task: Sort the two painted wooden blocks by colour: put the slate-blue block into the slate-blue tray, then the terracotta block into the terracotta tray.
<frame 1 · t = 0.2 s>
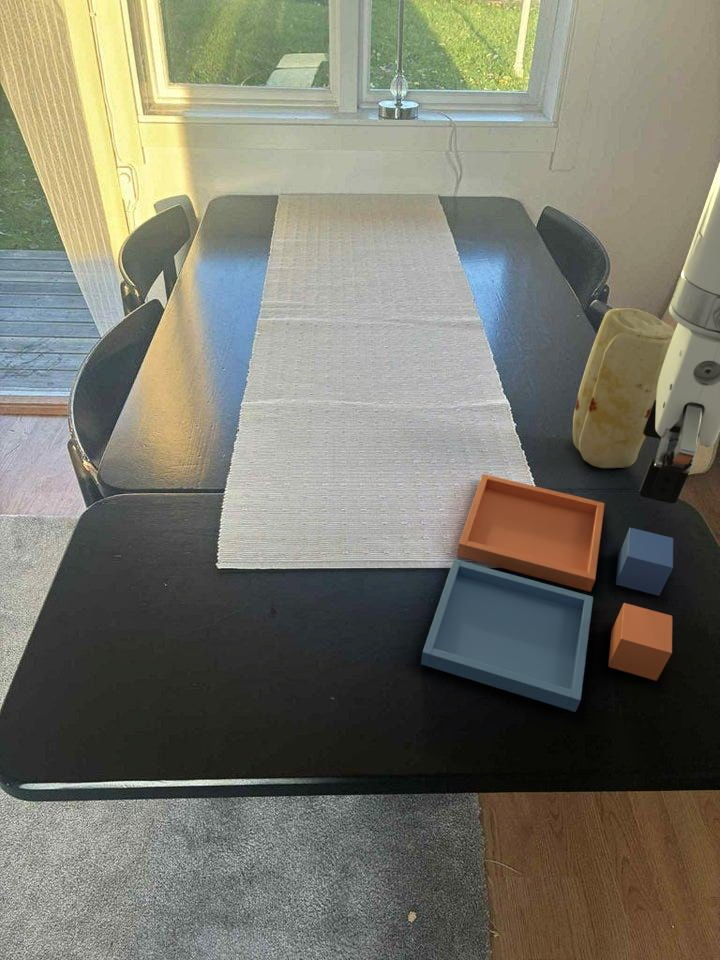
hand: (657, 466, 67), 15 cm above the table, tool pointing down, fingers open, 9 cm apart
blue block: (638, 575, 76), on the table
terracotta block: (633, 655, 68), on the table
food model: (597, 456, 92), on the table
terracotta tray: (531, 534, 80), on the table
blue tray: (508, 635, 70), on the table
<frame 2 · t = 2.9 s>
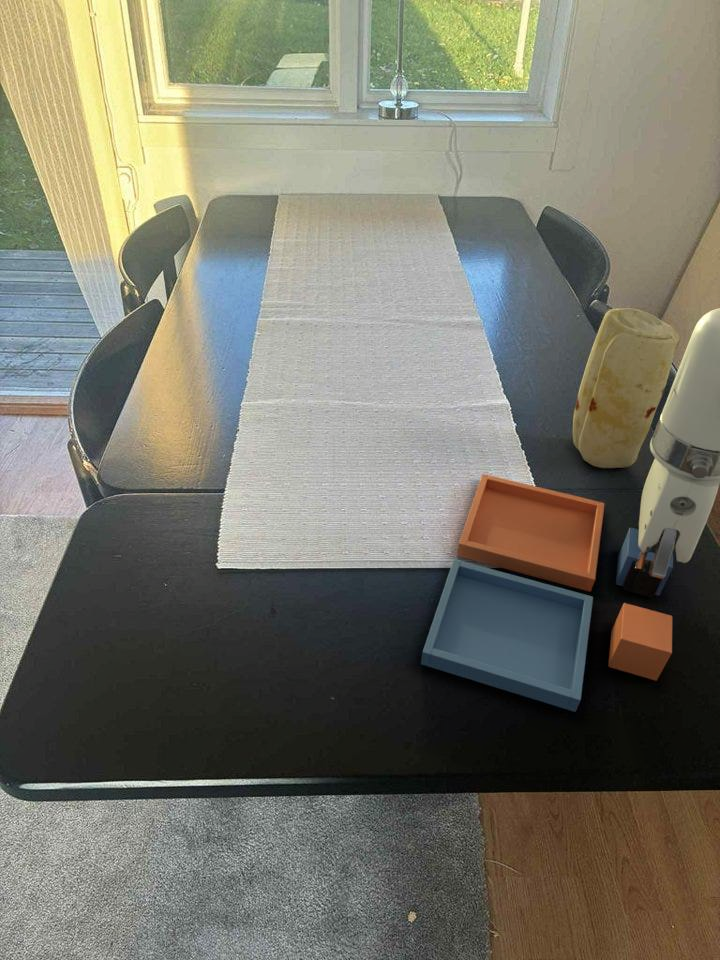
hand: (639, 573, 76), 0 cm above the table, tool pointing down, fingers closed on blue block, 4 cm apart
blue block: (638, 575, 76), on the table, touching gripper
everything else where it was.
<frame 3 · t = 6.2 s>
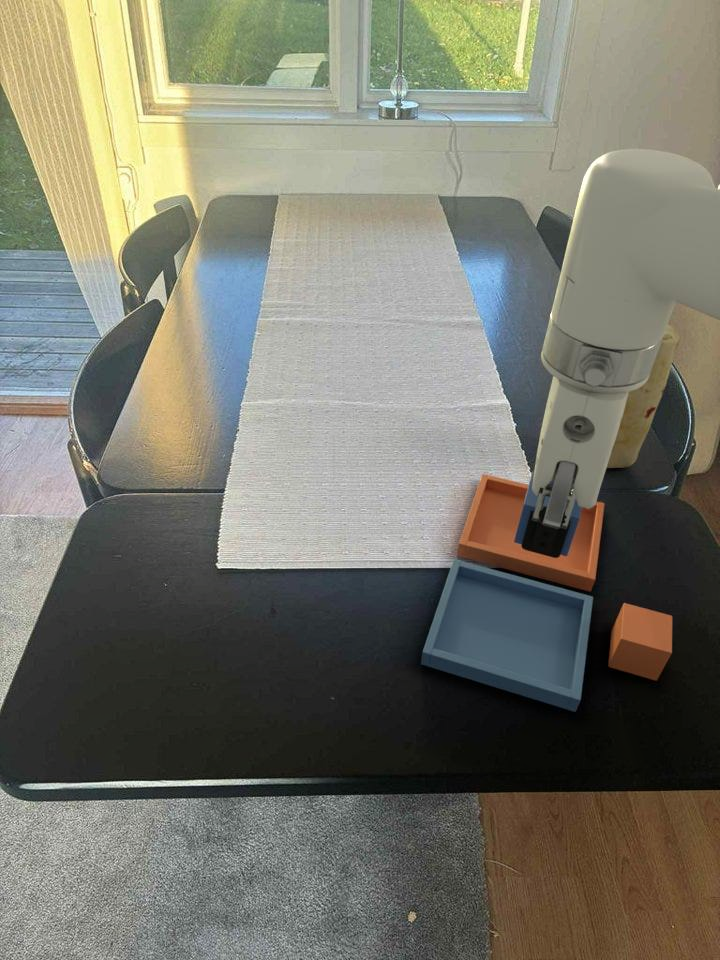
hand: (545, 529, 61), 14 cm above the table, tool pointing down, fingers closed on blue block, 4 cm apart
blue block: (543, 531, 61), point 14 cm above the table, touching gripper
everything else where it was.
when the fingers open (1 cm above the table, at t = 9.7 s): blue block stays where it is, resting on blue tray.
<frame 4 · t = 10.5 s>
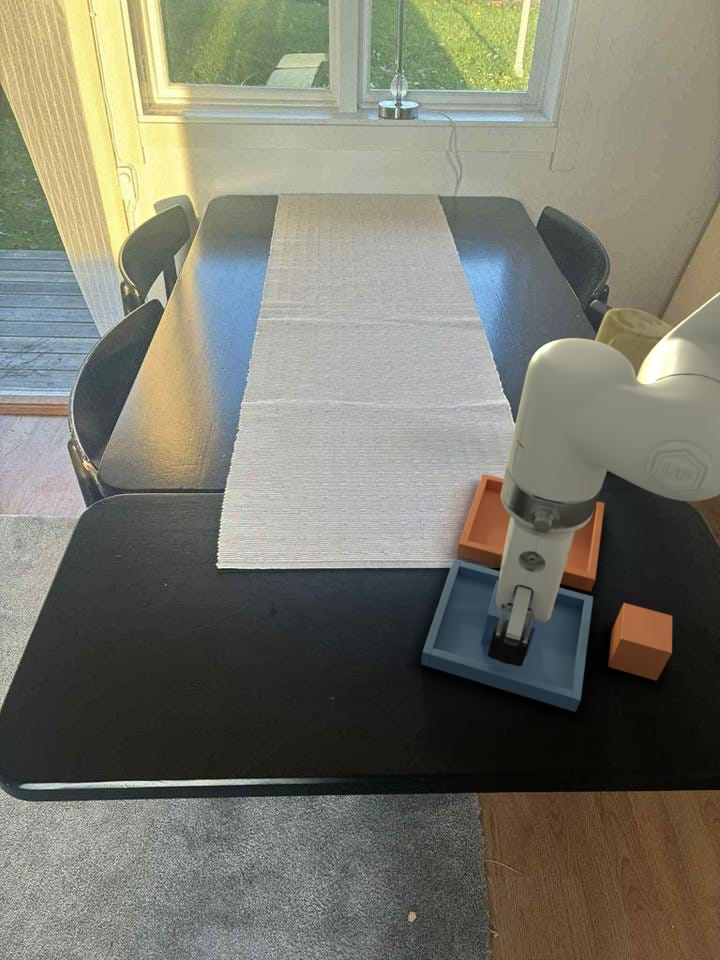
hand: (513, 619, 68), 3 cm above the table, tool pointing down, fingers open, 9 cm apart
blue block: (507, 632, 69), resting on blue tray
everything else where it was.
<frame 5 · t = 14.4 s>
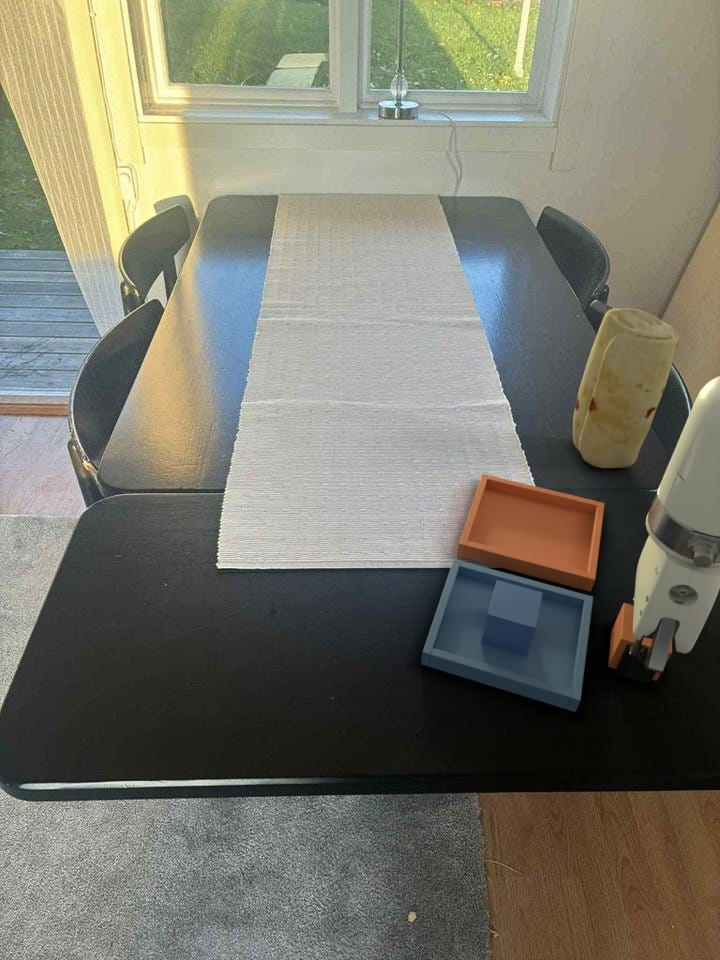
hand: (634, 653, 68), 0 cm above the table, tool pointing down, fingers closed on terracotta block, 4 cm apart
terracotta block: (633, 655, 68), on the table, touching gripper
everything else where it was.
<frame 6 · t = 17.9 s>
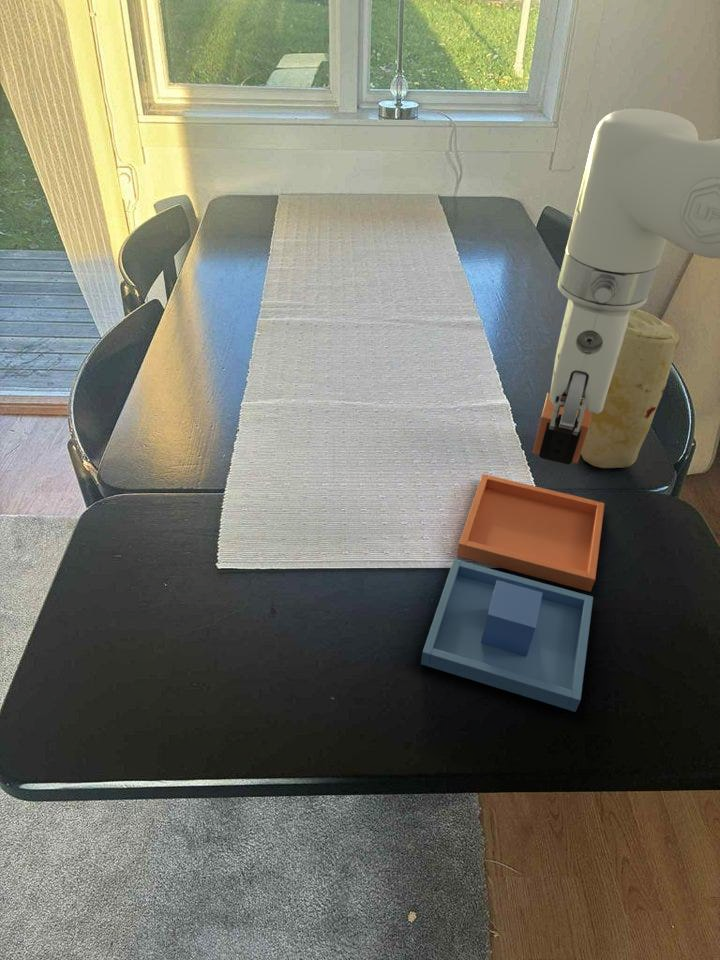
hand: (558, 442, 71), 14 cm above the table, tool pointing down, fingers closed on terracotta block, 4 cm apart
terracotta block: (557, 445, 71), point 13 cm above the table, touching gripper
everything else where it was.
when the fingers open (1 cm above the table, at t = 21.2 s): terracotta block stays where it is, resting on terracotta tray.
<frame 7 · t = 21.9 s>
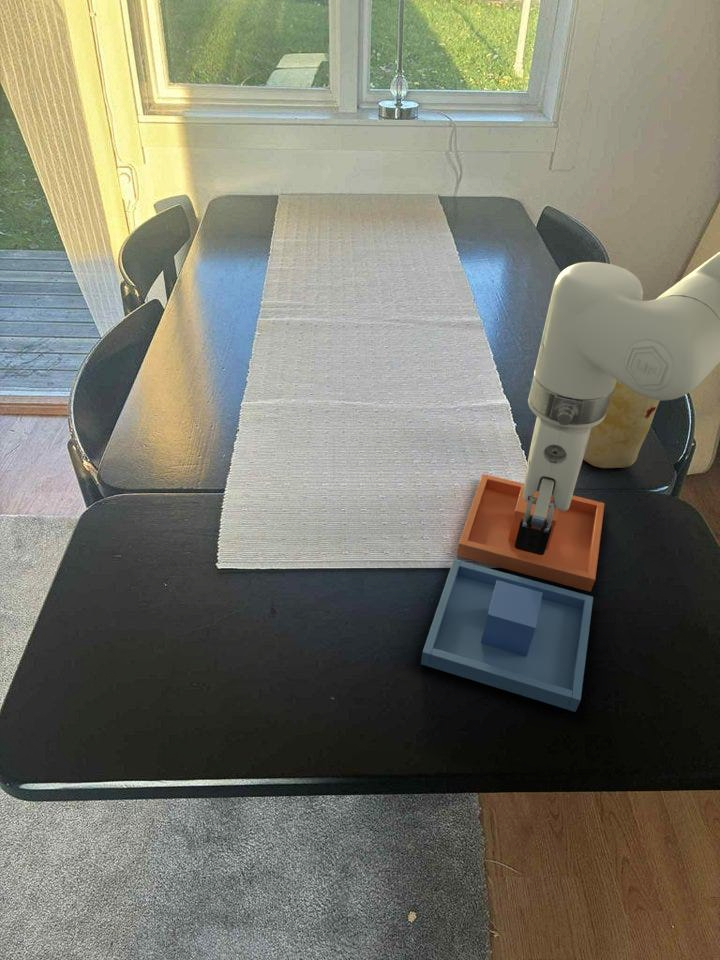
hand: (535, 520, 79), 2 cm above the table, tool pointing down, fingers open, 9 cm apart
terracotta block: (531, 531, 80), resting on terracotta tray
everything else where it was.
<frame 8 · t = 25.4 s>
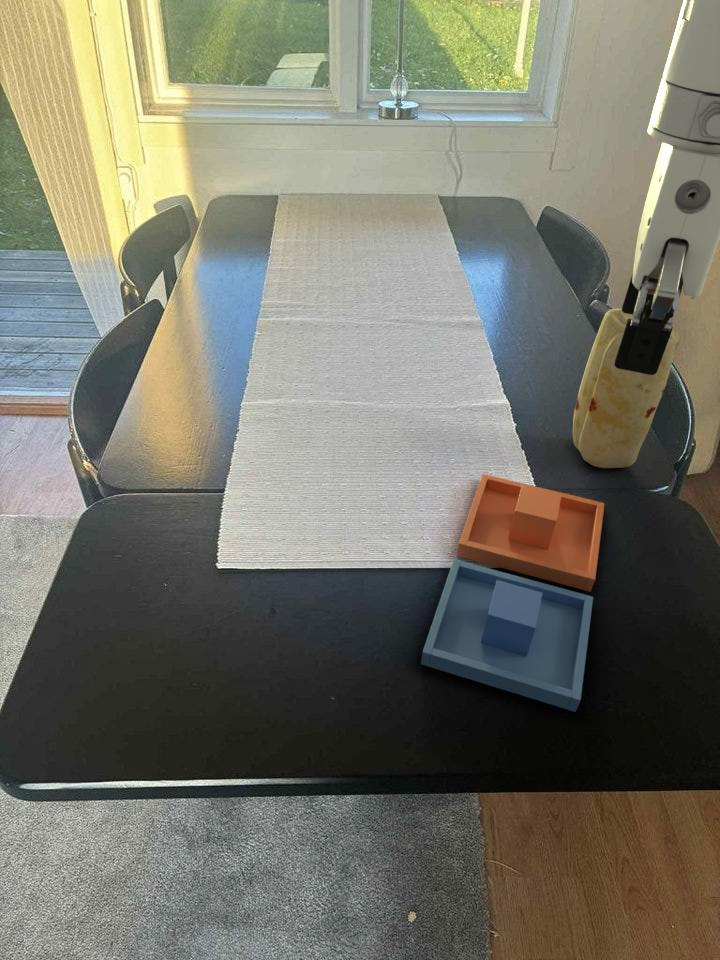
hand: (637, 340, 58), 28 cm above the table, tool pointing down, fingers open, 9 cm apart
nothing on the table moved.
at the end: blue block inside the target area on the blue tray (0.1 cm from its centre), point 0.5 cm above the blue tray's base; terracotta block inside the target area on the terracotta tray (0.1 cm from its centre), point 0.5 cm above the terracotta tray's base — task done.
